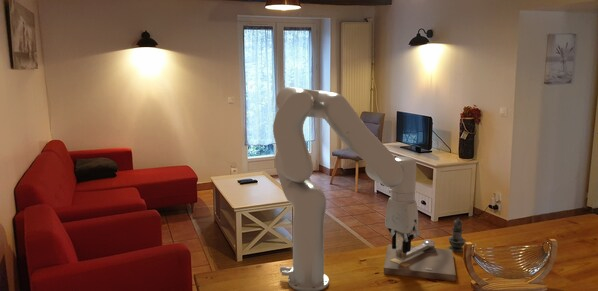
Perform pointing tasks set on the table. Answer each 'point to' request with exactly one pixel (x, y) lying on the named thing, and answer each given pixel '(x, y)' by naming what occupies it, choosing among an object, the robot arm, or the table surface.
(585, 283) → the table surface
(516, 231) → the table surface
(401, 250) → the lever
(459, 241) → the dark grey tower figurine
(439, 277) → the lever board
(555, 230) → the table surface
